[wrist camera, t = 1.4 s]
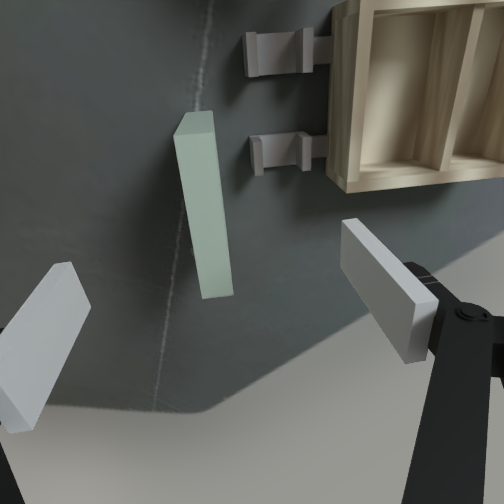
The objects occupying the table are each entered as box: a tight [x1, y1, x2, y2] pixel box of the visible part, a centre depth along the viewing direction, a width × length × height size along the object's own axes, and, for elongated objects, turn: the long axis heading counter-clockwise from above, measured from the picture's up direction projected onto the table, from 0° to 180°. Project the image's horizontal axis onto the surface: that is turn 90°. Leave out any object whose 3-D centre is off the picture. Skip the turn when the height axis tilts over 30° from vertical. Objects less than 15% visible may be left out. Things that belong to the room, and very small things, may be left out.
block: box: [173, 111, 233, 299], centre depth 28 cm, size 3×12×12 cm, turn 4°
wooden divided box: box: [242, 0, 504, 193], centre depth 28 cm, size 24×14×6 cm, turn 94°
